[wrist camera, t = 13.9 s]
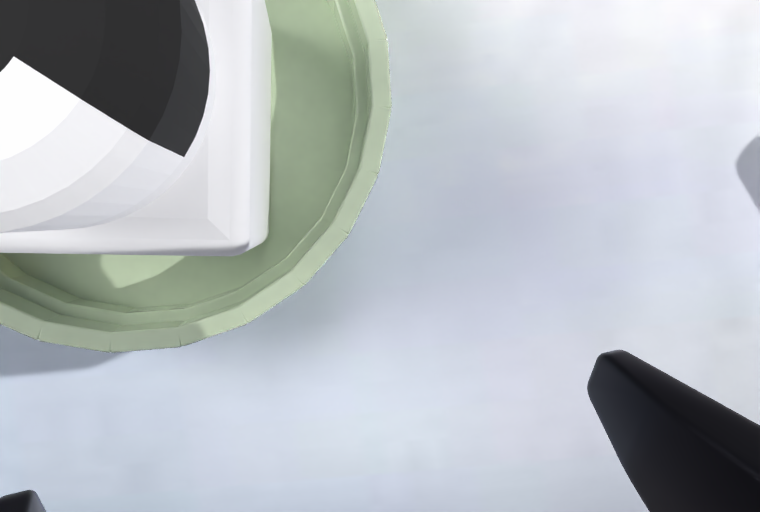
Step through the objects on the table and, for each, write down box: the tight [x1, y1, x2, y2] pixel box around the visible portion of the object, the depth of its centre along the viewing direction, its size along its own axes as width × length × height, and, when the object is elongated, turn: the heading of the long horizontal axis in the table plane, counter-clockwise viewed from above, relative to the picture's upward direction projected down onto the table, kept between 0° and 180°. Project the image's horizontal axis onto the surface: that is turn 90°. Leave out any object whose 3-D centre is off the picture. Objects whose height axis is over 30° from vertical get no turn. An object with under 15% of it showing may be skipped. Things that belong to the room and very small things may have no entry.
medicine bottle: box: [0, 0, 272, 256], centre depth 14 cm, size 7×7×12 cm
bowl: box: [0, 0, 392, 353], centre depth 19 cm, size 15×15×3 cm
